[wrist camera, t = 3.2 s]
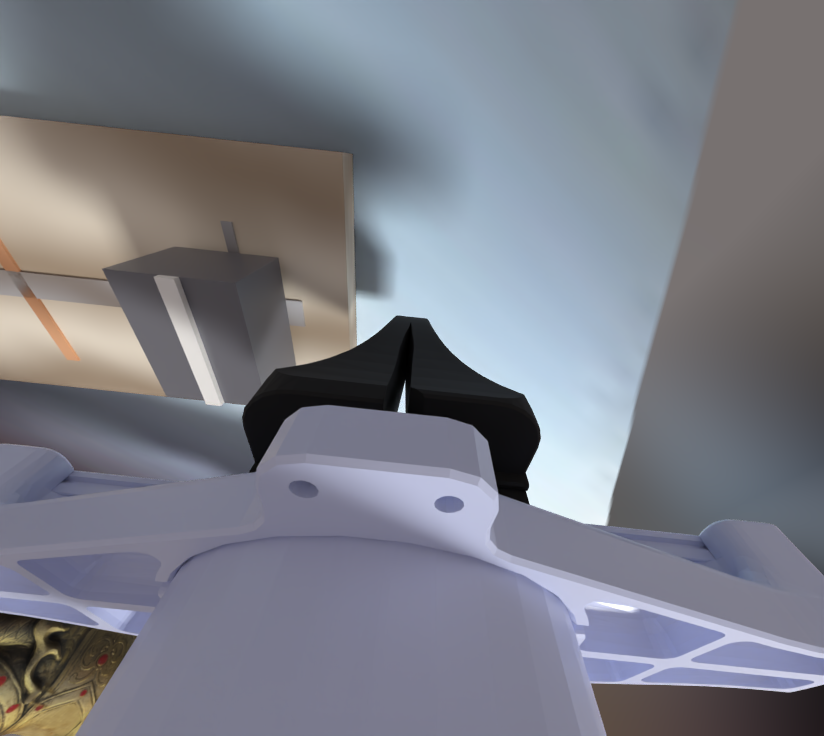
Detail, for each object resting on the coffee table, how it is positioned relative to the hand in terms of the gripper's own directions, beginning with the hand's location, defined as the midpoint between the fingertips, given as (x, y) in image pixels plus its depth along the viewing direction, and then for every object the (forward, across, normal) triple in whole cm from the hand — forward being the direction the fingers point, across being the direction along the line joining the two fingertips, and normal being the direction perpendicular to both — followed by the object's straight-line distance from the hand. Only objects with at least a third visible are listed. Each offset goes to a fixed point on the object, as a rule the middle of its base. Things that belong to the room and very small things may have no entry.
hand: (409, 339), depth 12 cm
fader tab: (+1, +7, 0) cm, 7 cm away
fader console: (+3, +14, 0) cm, 15 cm away
